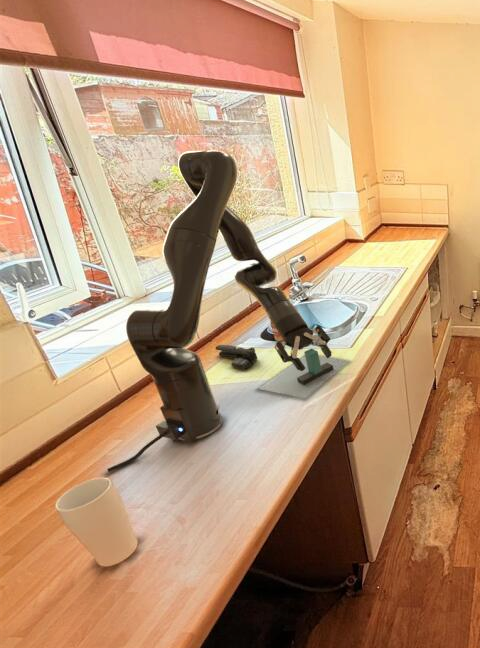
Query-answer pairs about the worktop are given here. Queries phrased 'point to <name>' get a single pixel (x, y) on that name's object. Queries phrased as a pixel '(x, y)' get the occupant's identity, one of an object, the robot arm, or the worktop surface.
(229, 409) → the worktop surface
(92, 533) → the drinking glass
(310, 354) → the wiper
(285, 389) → the cloth mat
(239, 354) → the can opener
